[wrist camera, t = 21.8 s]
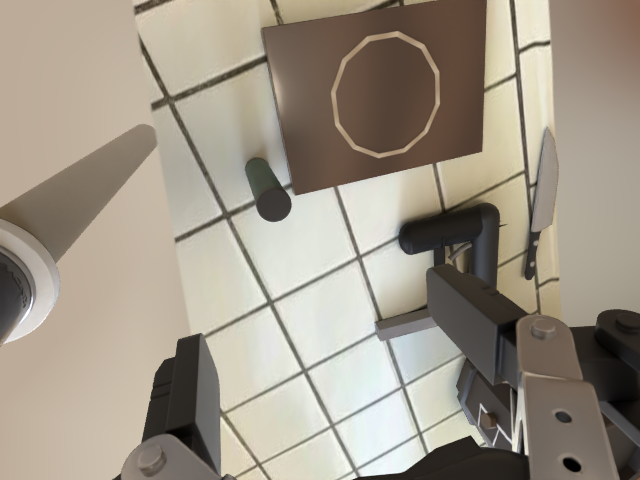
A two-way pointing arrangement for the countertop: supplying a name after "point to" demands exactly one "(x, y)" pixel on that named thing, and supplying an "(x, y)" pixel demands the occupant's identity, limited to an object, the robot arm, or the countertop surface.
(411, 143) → the drawing board
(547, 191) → the chef's knife
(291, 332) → the countertop surface
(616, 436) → the coffee canister
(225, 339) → the countertop surface
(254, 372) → the countertop surface
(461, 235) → the door handle
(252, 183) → the marker
